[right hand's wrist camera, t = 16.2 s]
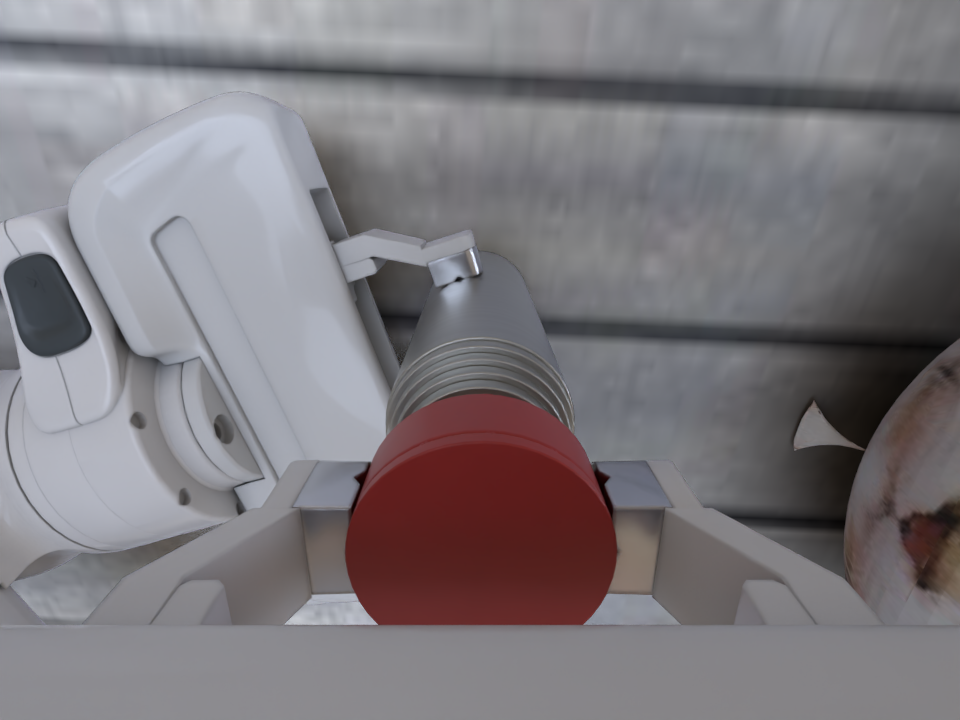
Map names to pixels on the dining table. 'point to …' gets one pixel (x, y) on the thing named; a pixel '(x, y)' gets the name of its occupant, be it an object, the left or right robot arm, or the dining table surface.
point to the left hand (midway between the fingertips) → (501, 324)
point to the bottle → (480, 347)
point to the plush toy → (906, 500)
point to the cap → (481, 520)
